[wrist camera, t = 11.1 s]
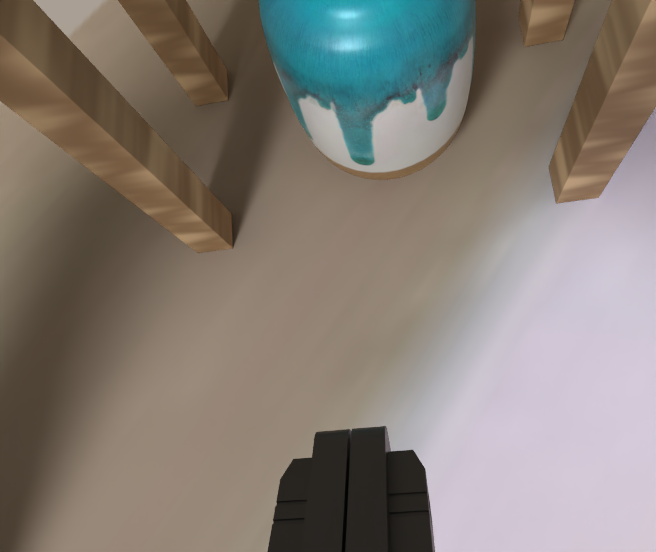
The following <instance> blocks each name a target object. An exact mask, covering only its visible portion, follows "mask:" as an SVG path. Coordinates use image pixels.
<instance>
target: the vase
mask: <svg viewBox="0 0 656 552" xmlns="http://www.w3.org/2000/svg"><path fill="white" fill-rule="evenodd" d="M259 11H260V17H261V22H262V26H263V30H264V34H265V38H266V42H267V46H268V49H269V52H270V55H271V58H272V61H273V64H274V66H275V69H276V72H277V74H278V76H279V79H280V81H281V84H282V86H283V88H284V90H285V93H286V95H287V97H288V99H289V101H290V103H291V106H292V108H293V110H294V112H295V114H296V116H297V118H298V120H299V122H300V123H301V125H302V127H303V128H304V130H305V131H306V133H307V134H308V136H309V138H310V139H311V140H312V142H313V143H314V145H315V146H316V147H317V149H318V150H319V151H320V152H321V153H322V154H323V155H324V156H325V157H326V158H327V159H328V160H329V161H330V162H331V163H333V164H334V165H336V166H337V167H338V168H340V169H341V170H344V171H346V172H348V173H350V174H352V175H356V176H359V177H362V178H367V179H374V180H388V179H395V178H400V177H404V176H407V175H410V174H412V173H414V172H417V171H419V170H421V169H423V168H424V167H426V166H427V165H429V164H430V163H432V162H433V161H434V160H435V159H436V158H437V157H438V156H440V155H441V154H442V153H443V152H444V150H445V149H446V148H447V147H448V146H449V144H450V143H451V141H452V139H453V138H454V136H455V134H456V133H457V131H458V129H459V127H460V124H461V121H462V119H463V116H464V113H465V109H466V105H467V101H468V96H469V91H470V86H471V80H472V74H473V66H474V54H475V35H476V0H259Z"/></svg>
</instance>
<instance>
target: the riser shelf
mask: <svg viewBox="0 0 656 552" xmlns="http://www.w3.org/2000/svg"><path fill="white" fill-rule="evenodd" d="M118 1H119V2H120V4H121V5H122V6H123V8H124V9H125V10H126V12H127V13H128V15H129V16H130V17H131V19H132V20H133V21H134V23H135V24H136V25H137V27H138V28H139V29H140V31H141V32H142V34H143V35H144V36H145V38H146V39H147V40H148V42H149V43H150V44H151V46H152V47H153V48H154V50H155V51H156V53H157V54H158V55H159V57H160V58H161V59H162V61H163V62H164V63H165V65H166V66H167V67H168V69H169V70H170V72H171V73H172V74H173V76H174V77H175V78H176V80H177V81H178V82H179V84H180V85H181V86H182V88H183V89H184V91H185V92H186V93H187V95H188V96H189V97H190V99H191V100H192V101H193V103H194V104H195V105H196V106H199V105H204V104H210V103H215V102H221V101H226V100H228V79H227V70H226V68H225V66H224V64H223V63H222V61H221V59H220V58H219V56H218V54H217V52H216V51H215V49H214V47H213V46H212V44H211V42H210V40H209V39H208V37H207V35H206V34H205V32H204V30H203V29H202V27H201V25H200V23H199V22H198V20H197V18H196V17H195V15H194V13H193V11H192V10H191V8H190V6H189V5H188V3H187V1H186V0H118ZM574 1H575V0H521V3H520V9H519V15H518V17H519V22H520V27H521V32H522V37H523V42H524V47H526V46H531V45H537V44H542V43H548V42H553V41H559V40H563V38H564V35H565V32H566V28H567V25H568V21H569V18H570V15H571V11H572V8H573V4H574ZM0 101H1V102H2V103H4V104H5V105H6V106H7V107H9V108H10V109H11V110H13V111H14V112H15V113H17V114H18V115H19V116H20V117H22V118H23V119H24V120H26V121H27V122H28V123H29V124H31V125H32V126H33V127H35V128H36V129H37V130H39V131H40V132H41V133H42V134H44V135H45V136H46V137H48V138H49V139H50V140H52V141H53V142H54V143H55V144H57V145H58V146H59V147H61V148H62V149H63V150H65V151H66V152H67V153H68V154H70V155H71V156H72V157H74V158H75V159H76V160H78V161H79V162H80V163H81V164H83V165H84V166H85V167H87V168H88V169H89V170H91V171H92V172H93V173H94V174H96V175H97V176H98V177H100V178H101V179H102V180H104V181H105V182H106V183H107V184H109V185H110V186H111V187H113V188H114V189H115V190H117V191H118V192H119V193H120V194H122V195H123V196H124V197H126V198H127V199H128V200H130V201H131V202H132V203H133V204H135V205H136V206H137V207H139V208H140V209H141V210H143V211H144V212H145V213H146V214H148V215H149V216H150V217H152V218H153V219H154V220H156V221H157V222H158V223H159V224H161V225H162V226H163V227H165V228H166V229H167V230H169V231H170V232H171V233H172V234H174V235H175V236H176V237H178V238H179V239H180V240H181V241H183V242H184V243H185V244H187V245H188V246H189V247H191V248H192V249H193V250H194V251H196V252H197V253H202V252H209V251H216V250H223V249H230V248H233V242H232V214H231V213H230V212H229V211H228V209H227V208H226V207H225V206H224V205H223V204H222V203H221V202H220V201H219V200H218V199H217V198H216V197H215V196H214V194H213V193H212V192H211V191H210V190H209V189H208V188H207V187H206V186H205V185H204V184H203V183H202V182H201V180H200V179H199V178H198V177H197V176H196V175H195V174H194V173H193V172H192V171H191V170H190V169H189V168H188V166H187V165H186V164H185V163H184V162H183V161H182V160H181V159H180V158H179V157H178V156H177V155H176V154H175V152H174V151H173V150H172V149H171V148H170V147H169V146H168V145H167V144H166V143H165V142H164V141H163V140H162V138H161V137H160V136H159V135H158V134H157V133H156V132H155V131H154V130H153V129H152V128H151V127H150V126H149V124H148V123H147V122H146V121H145V120H144V119H143V118H142V117H141V116H140V115H139V114H138V113H137V112H136V110H135V109H134V108H133V107H132V106H131V105H130V104H129V103H128V102H127V101H126V100H125V99H124V98H123V96H122V95H121V94H120V93H119V92H118V91H117V90H116V89H115V88H114V87H113V86H112V85H111V84H110V82H109V81H108V80H107V79H106V78H105V77H104V76H103V75H102V74H101V73H100V72H99V71H98V70H97V69H96V67H95V66H94V65H93V64H92V63H91V62H90V61H89V60H88V59H87V58H86V57H85V56H84V55H83V53H82V52H81V51H80V50H79V49H78V48H77V47H76V46H75V45H74V44H73V43H72V42H71V41H70V39H69V38H68V37H67V36H66V35H65V34H64V33H63V32H62V31H61V30H60V29H59V28H58V27H57V25H55V23H54V22H53V21H52V20H51V19H50V18H49V17H48V16H47V15H46V14H45V13H44V11H42V9H41V8H40V7H39V6H38V5H37V4H36V3H35V2H34V1H33V0H0ZM655 107H656V0H612V2H611V4H610V7H609V10H608V12H607V15H606V18H605V20H604V23H603V26H602V28H601V31H600V33H599V36H598V39H597V41H596V44H595V47H594V49H593V52H592V54H591V57H590V60H589V62H588V65H587V68H586V70H585V73H584V76H583V78H582V81H581V83H580V86H579V89H578V91H577V94H576V97H575V99H574V102H573V105H572V107H571V110H570V112H569V115H568V118H567V120H566V123H565V126H564V128H563V131H562V134H561V136H560V139H559V141H558V144H557V147H556V149H555V152H554V155H553V157H552V160H551V162H550V165H549V171H550V175H551V180H552V185H553V190H554V195H555V200H556V203H563V202H570V201H577V200H585V199H592V198H599V196H600V195H601V193H602V191H603V190H604V188H605V187H606V185H607V184H608V182H609V180H610V179H611V177H612V176H613V174H614V172H615V171H616V169H617V168H618V166H619V164H620V163H621V161H622V160H623V158H624V157H625V155H626V153H627V152H628V150H629V149H630V147H631V145H632V144H633V142H634V141H635V139H636V138H637V136H638V134H639V133H640V131H641V130H642V128H643V126H644V125H645V123H646V122H647V120H648V118H649V117H650V115H651V114H652V112H653V111H654V109H655Z"/></svg>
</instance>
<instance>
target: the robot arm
mask: <svg viewBox="0 0 656 552" xmlns="http://www.w3.org/2000/svg"><path fill="white" fill-rule="evenodd" d="M273 521H274V524H272V530H271V536H270V541H269V547H268V552H435V546H434V536H433V526H432V517H431V509H430V502H429V494H428V487H427V479H426V472H425V468H424V466H423V465H422V463H421V462H420V460H419V459H418V457H417V455H416V454H415V452H414V451H413V450H406V451H392V452H391V450H390V444H389V438H388V432H387V428H386V426H382V427H370V428H357V429H352V431H351V430H350V429H347V430H335V431H323V432H316V434H315V438H314V446H313V454H312V458H302V459H293V461H292V462H291V464H290V465H289V467H288V468H287V470H286V471H285V473H284V475H283V476H282V478H281V479H280V485H279V490H278V496H277V506H276V507H275V513H274V519H273Z"/></svg>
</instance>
